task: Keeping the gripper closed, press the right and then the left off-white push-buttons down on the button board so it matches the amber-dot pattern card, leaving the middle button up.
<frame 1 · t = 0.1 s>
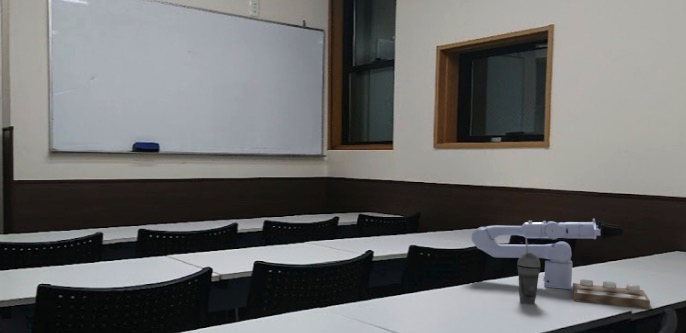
hand: (622, 230, 207), 22 cm above the table, tool horizontal, fingers open, 7 cm apart
button left: (586, 283, 200), point 5 cm above the table, slide at 0.0 cm
beverage cup: (527, 302, 189), on the table
button board: (608, 298, 197), on the table
button right: (632, 287, 195), point 5 cm above the table, slide at 0.0 cm
button middle: (609, 285, 197), point 5 cm above the table, slide at 0.0 cm
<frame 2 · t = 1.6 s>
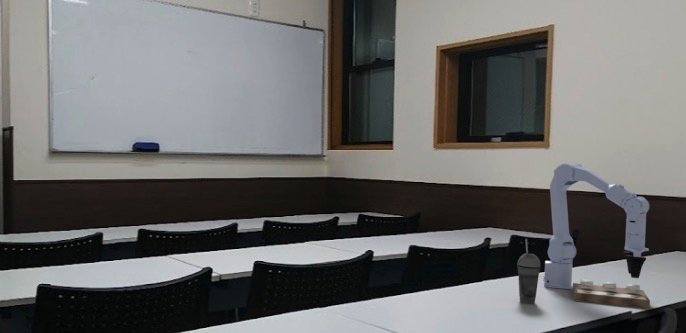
hand: (633, 275, 195), 8 cm above the table, tool pointing down, fingers open, 7 cm apart
nothing on the table moved.
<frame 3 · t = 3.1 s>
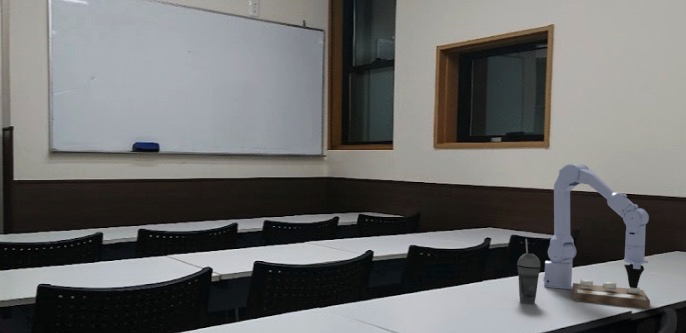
hand: (633, 287, 195), 5 cm above the table, tool pointing down, fingers closed, pressing on button right
button right: (632, 289, 195), point 4 cm above the table, slide at 0.7 cm, touching gripper
everything else where it was.
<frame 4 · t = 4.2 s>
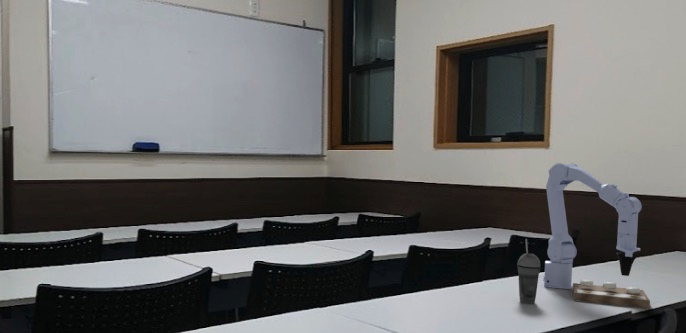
hand: (625, 275, 196), 8 cm above the table, tool pointing down, fingers closed
button right: (632, 290, 195), point 4 cm above the table, slide at 0.9 cm
everything else where it was.
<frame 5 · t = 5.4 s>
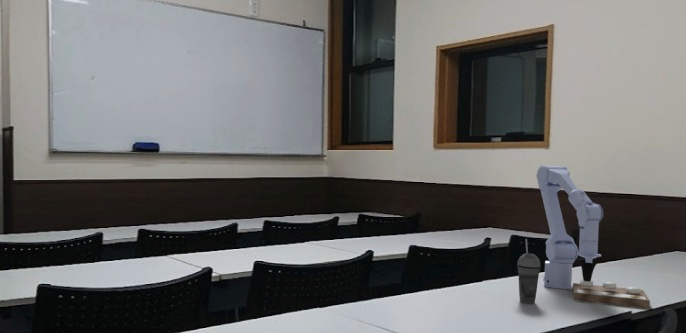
hand: (586, 281, 199), 5 cm above the table, tool pointing down, fingers closed, pressing on button left
button left: (586, 283, 200), point 4 cm above the table, slide at 0.1 cm, touching gripper
everything else where it was.
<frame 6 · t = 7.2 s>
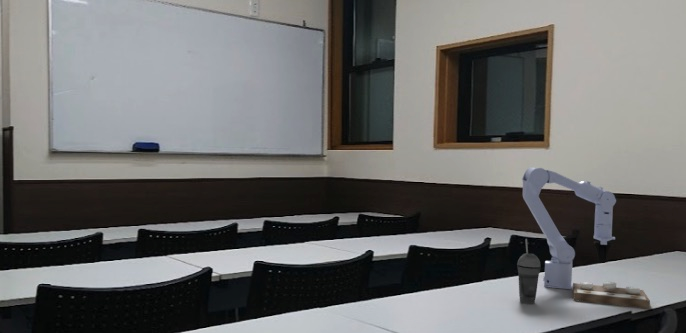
hand: (601, 262, 213), 9 cm above the table, tool pointing down, fingers closed
button left: (586, 285, 200), point 4 cm above the table, slide at 0.9 cm
everything else where it was.
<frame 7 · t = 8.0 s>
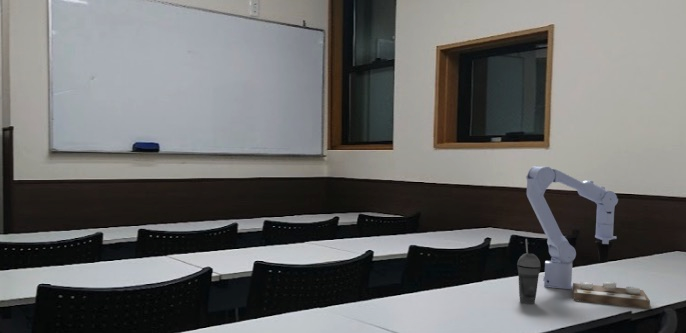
hand: (603, 261, 214), 9 cm above the table, tool pointing down, fingers closed
nothing on the table moved.
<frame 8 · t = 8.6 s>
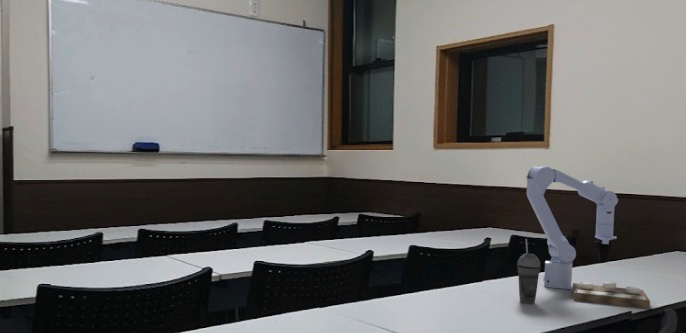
hand: (603, 261, 214), 9 cm above the table, tool pointing down, fingers closed
nothing on the table moved.
at the end: button right slide at 0.9 cm; button left slide at 0.9 cm; button middle slide at 0.0 cm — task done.
